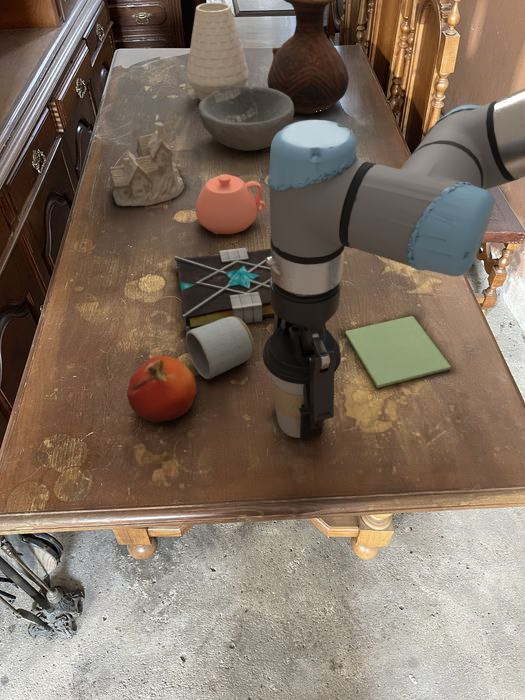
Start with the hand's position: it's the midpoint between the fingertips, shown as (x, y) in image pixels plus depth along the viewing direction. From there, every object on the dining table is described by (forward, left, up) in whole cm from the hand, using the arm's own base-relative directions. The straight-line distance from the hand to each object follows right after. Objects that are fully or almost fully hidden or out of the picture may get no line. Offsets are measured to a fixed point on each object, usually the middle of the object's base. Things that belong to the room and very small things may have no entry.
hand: (299, 410), depth 73 cm
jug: (+102, -39, -3) cm, 109 cm away
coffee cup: (0, 0, -2) cm, 2 cm away
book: (+29, 0, -3) cm, 29 cm away
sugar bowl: (+51, -4, -3) cm, 51 cm away
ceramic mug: (+15, +8, -3) cm, 17 cm away
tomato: (+8, +17, -3) cm, 19 cm away
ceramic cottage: (+71, +10, -3) cm, 72 cm away
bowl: (+85, -17, -3) cm, 87 cm away
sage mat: (+8, -19, -2) cm, 21 cm away
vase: (+114, -17, -3) cm, 115 cm away
